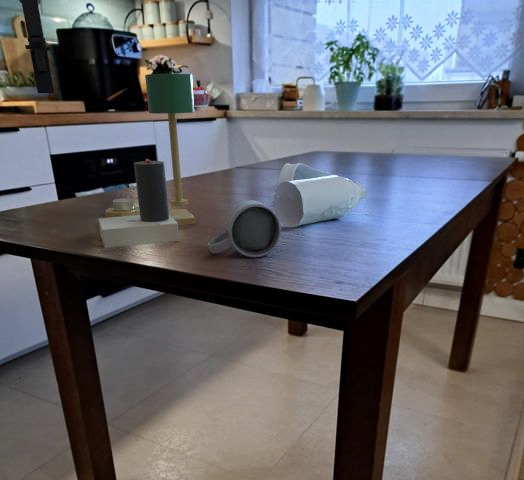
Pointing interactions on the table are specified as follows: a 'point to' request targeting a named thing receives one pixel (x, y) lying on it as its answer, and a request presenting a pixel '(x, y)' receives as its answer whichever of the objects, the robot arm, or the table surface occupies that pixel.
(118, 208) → the lamp switch
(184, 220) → the lamp base
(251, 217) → the ceramic mug
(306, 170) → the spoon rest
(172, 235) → the plate
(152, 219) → the dark grey cylinder
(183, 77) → the desk lamp
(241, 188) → the table surface
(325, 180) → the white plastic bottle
